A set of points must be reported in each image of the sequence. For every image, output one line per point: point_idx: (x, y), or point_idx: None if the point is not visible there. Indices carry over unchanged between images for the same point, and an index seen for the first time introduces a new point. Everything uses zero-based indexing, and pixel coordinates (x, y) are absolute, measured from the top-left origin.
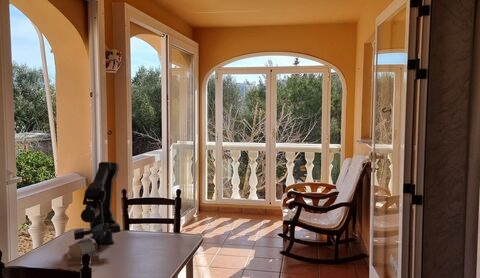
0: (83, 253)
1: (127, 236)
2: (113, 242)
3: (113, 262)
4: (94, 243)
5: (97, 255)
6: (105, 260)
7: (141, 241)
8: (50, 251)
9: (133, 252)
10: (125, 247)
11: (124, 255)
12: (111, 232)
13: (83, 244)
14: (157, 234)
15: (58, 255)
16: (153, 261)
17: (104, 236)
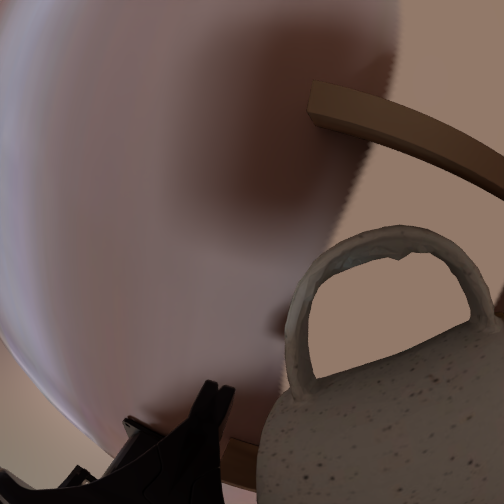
0: (501, 341)
1: (87, 421)
2: (125, 425)
3: (162, 32)
4: (227, 479)
5: (341, 92)
6: (219, 133)
7: (29, 338)
8: None
9: (25, 213)
10: (65, 333)
11: (57, 185)
12: (106, 474)
13: (471, 501)
14: (12, 348)
15: None
16: (16, 21)
17: (11, 478)
